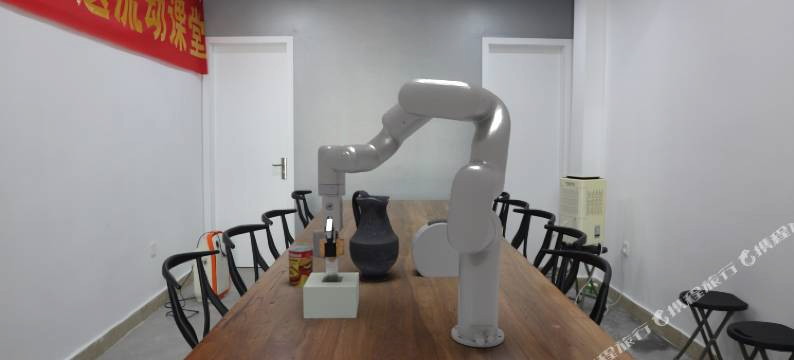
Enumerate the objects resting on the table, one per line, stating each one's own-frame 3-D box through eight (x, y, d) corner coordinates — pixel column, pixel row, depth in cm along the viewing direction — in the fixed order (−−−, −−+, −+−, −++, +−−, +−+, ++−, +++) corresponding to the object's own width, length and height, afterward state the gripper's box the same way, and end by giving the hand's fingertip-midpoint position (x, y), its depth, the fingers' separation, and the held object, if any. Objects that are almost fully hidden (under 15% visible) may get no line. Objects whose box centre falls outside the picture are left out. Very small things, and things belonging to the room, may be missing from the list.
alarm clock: (468, 270, 172) (469, 217, 170) (472, 276, 164) (473, 220, 163) (410, 271, 171) (411, 217, 169) (412, 277, 164) (412, 221, 162)
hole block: (356, 317, 125) (356, 286, 124) (303, 318, 125) (303, 287, 124) (358, 300, 139) (358, 272, 138) (311, 300, 138) (311, 272, 138)
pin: (343, 285, 128) (343, 242, 127) (318, 285, 128) (317, 242, 127) (345, 278, 135) (345, 237, 134) (321, 278, 134) (321, 237, 133)
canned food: (285, 283, 156) (284, 247, 155) (306, 279, 161) (305, 244, 160) (296, 289, 150) (295, 252, 149) (317, 284, 155) (317, 248, 154)
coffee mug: (315, 252, 201) (314, 229, 200) (338, 251, 201) (338, 229, 200) (310, 259, 187) (310, 235, 187) (335, 259, 188) (335, 235, 187)
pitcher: (368, 288, 150) (368, 195, 148) (334, 274, 166) (333, 190, 164) (409, 278, 161) (409, 192, 159) (373, 266, 177) (373, 187, 175)
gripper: (342, 193, 121) (342, 261, 122) (347, 187, 138) (347, 246, 139) (313, 193, 120) (313, 261, 122) (322, 187, 138) (322, 246, 139)
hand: (332, 253), depth 131 cm, fingers closed on pin, 6 cm apart
